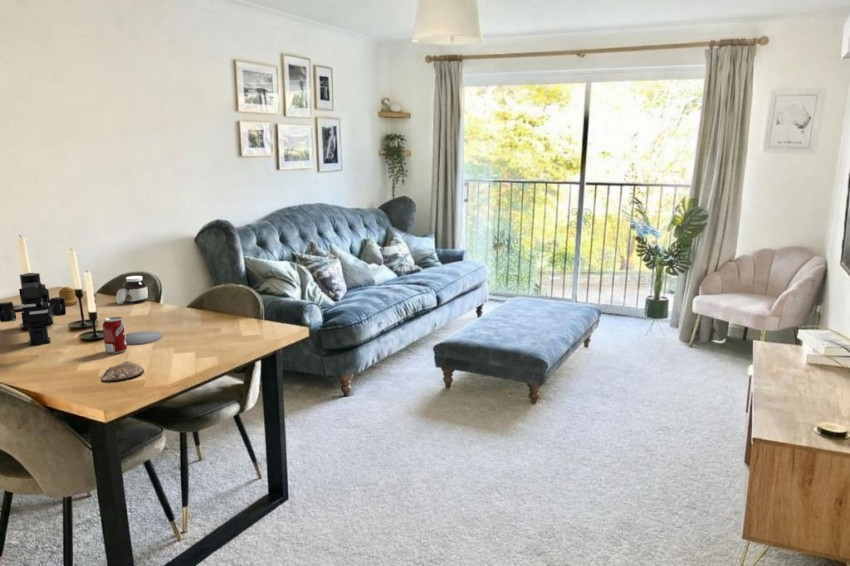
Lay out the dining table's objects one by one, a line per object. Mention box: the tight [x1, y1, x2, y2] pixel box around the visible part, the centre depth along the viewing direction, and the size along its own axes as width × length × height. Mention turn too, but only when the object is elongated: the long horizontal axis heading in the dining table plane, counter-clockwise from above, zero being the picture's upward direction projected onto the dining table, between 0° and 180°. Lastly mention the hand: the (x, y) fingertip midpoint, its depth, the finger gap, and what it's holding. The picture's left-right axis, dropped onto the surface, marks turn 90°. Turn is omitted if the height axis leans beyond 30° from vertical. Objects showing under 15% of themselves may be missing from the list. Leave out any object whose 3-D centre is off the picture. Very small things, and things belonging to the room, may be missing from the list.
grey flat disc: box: [126, 330, 163, 346], centre depth 220 cm, size 15×15×1 cm
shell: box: [101, 360, 145, 383], centre depth 185 cm, size 12×13×4 cm
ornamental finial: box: [58, 286, 78, 307], centre depth 266 cm, size 8×8×8 cm
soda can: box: [102, 316, 128, 355], centre depth 204 cm, size 7×7×12 cm
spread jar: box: [115, 275, 149, 305], centre depth 271 cm, size 12×11×12 cm
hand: (32, 315), depth 190 cm, fingers open, 9 cm apart
